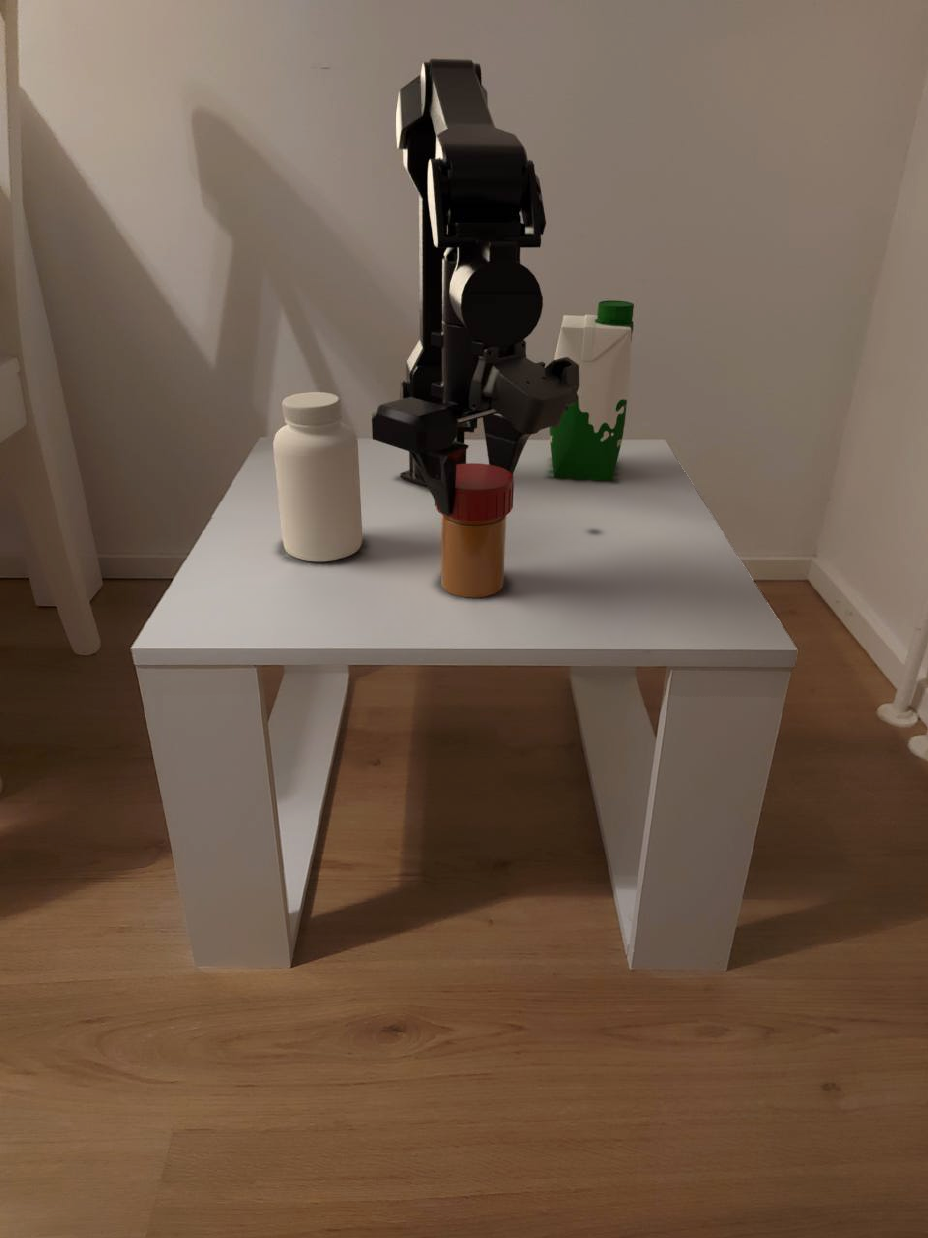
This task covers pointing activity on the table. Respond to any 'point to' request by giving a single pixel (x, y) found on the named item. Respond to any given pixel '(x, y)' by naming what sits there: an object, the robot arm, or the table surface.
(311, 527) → the pill bottle
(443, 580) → the jar
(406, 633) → the table surface
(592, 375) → the soya milk
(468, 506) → the lid
